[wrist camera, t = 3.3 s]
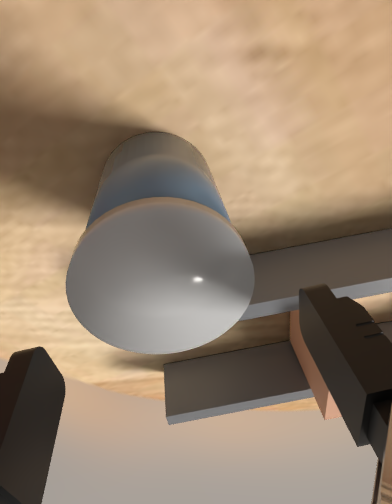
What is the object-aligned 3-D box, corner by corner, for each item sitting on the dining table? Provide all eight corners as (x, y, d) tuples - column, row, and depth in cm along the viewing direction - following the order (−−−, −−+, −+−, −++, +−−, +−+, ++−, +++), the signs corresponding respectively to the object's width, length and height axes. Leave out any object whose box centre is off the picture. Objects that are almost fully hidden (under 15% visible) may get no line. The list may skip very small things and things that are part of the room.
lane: (135, 276, 20) (132, 327, 17) (488, 210, 20) (553, 247, 17) (166, 372, 26) (168, 424, 22) (444, 319, 26) (487, 363, 23)
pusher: (291, 266, 21) (335, 343, 16) (310, 262, 21) (360, 338, 16) (289, 340, 25) (324, 420, 20) (305, 337, 25) (344, 416, 20)
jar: (81, 141, 15) (32, 232, 9) (206, 118, 15) (249, 191, 9) (117, 245, 19) (100, 367, 12) (220, 226, 19) (258, 337, 12)
